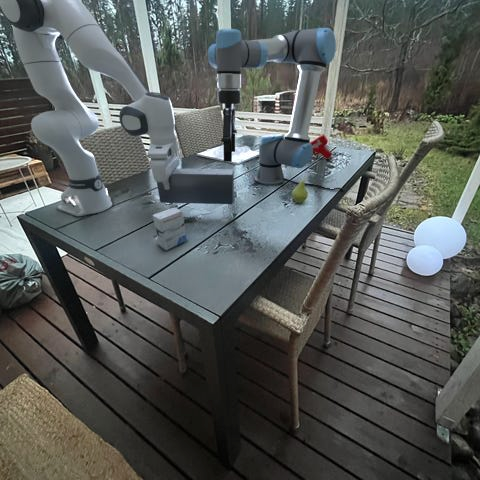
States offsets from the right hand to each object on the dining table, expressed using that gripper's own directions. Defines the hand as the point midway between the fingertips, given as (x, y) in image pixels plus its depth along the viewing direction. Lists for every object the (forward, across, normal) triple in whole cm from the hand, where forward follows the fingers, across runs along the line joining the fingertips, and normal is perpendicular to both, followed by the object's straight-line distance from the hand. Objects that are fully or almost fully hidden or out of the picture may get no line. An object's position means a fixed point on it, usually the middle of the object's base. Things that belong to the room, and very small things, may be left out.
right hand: (229, 156), depth 99 cm
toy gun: (+22, -83, +47) cm, 98 cm away
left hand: (+10, +6, -22) cm, 24 cm away
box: (+15, +6, -12) cm, 20 cm away
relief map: (+23, -88, -9) cm, 91 cm away
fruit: (+23, -14, +30) cm, 40 cm away
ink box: (+25, +22, -18) cm, 38 cm away
